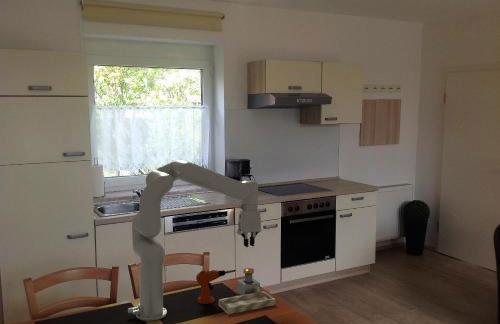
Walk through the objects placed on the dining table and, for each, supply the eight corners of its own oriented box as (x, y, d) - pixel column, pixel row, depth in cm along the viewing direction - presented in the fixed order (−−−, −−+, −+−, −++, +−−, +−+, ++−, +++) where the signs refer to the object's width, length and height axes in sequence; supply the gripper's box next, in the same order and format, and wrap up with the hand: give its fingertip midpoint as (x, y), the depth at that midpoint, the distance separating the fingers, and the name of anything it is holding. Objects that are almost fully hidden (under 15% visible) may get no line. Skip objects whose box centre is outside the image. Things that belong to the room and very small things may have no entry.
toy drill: (239, 297, 207) (236, 266, 205) (198, 306, 202) (194, 274, 200) (237, 293, 211) (233, 262, 209) (197, 302, 207) (193, 270, 205)
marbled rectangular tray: (227, 314, 192) (228, 308, 192) (218, 305, 201) (218, 299, 201) (275, 304, 203) (275, 298, 202) (264, 296, 212) (264, 291, 211)
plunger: (246, 291, 211) (246, 272, 211) (241, 287, 216) (241, 268, 215) (255, 289, 214) (255, 270, 213) (250, 286, 218) (250, 267, 217)
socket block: (244, 298, 210) (244, 285, 209) (237, 292, 217) (237, 280, 216) (259, 295, 213) (260, 283, 213) (251, 289, 220) (252, 277, 220)
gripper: (237, 210, 204) (236, 250, 206) (268, 207, 211) (267, 246, 213) (230, 207, 211) (230, 246, 213) (260, 204, 218) (260, 242, 220)
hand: (249, 245), depth 213 cm, fingers closed
